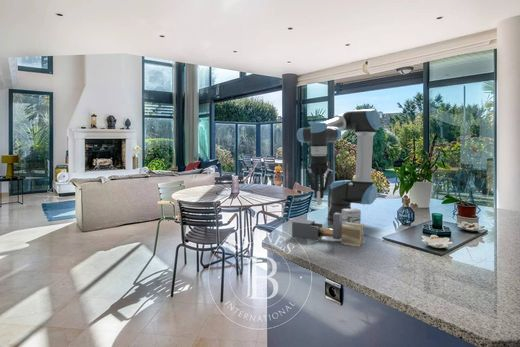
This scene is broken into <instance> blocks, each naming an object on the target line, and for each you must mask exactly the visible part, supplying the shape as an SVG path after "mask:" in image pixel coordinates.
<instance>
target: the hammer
mask: <svg viewBox="0 0 520 347" xmlns="http://www.w3.org/2000/svg"><path fill="white" fill-rule="evenodd" d="M318 236H322V237H327V238H332V239H334V240H340V239H341V240H342V213H335V214H333V220H332V228H328V227H323V226H322V227H318Z"/></svg>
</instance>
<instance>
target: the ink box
mask: <svg viewBox="0 0 520 347" xmlns="http://www.w3.org/2000/svg"><path fill="white" fill-rule="evenodd" d="M361 216H362V210H361V209H359V208H351V209H342V225H343V224H345V223H346V222H350V223H359V224H361V218H362V217H361Z"/></svg>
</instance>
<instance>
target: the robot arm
mask: <svg viewBox="0 0 520 347" xmlns="http://www.w3.org/2000/svg"><path fill="white" fill-rule="evenodd" d="M381 120H382V119H381V116H380V114H379V112H378V110H376V109H374V108H365V109H355V110H352V109H351V110H348V111H345V112H342V113H339V114H336V115H334V116H333V117H332V118H330V119H328V120H325V121H321V122H320V121H317V122H312V123H311V125H310V126H307V127H301V128H298V129H297V131H296V139H297V142H300V143H304V144H305V143H310V155H311V156H310V166H309V168H308V169H306V170H305V174H307V177H308V181H309V182H308V183H309V186H310V190H312V191H314V197H315V198H316V206H322V205H323V202H322V201H323V199H324V193H325V191H327V190H328V188H329V185H330V186H331V187H330V207H329V210H328V214H327V219H328V220H331V221H333V214H335V213H342V209H352V206H351V205H352V204H359V205H368V206H369V205H372V204H373V203H374V202H375V201H376V198H377V195H378V186H377V185H376V184H374V180H373V179H372V167H373V166H372V165H373V146H374V145H373V144H374V136H376V134H377V131H378V130H380V128H381V125H382V124H381V122H382V121H381ZM342 131H354V134H355V135H356V136H357V138H356V158H355V159H356V160H355V162H356V163H355V178H353V179H352V180H349V179H345V180H335V181H332V182H331V184H330V179H331V177H332V174H333V172H334V171H333V170H332V169H330V168H329V165H328V156H327V155H328V143H336V142H338V141H339V140H340V139H341V137H342ZM326 173H327V174H326ZM325 174H326V176H325ZM313 177H314V178H313Z"/></svg>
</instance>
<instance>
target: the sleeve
mask: <svg viewBox="0 0 520 347" xmlns="http://www.w3.org/2000/svg"><path fill="white" fill-rule="evenodd" d="M318 227H322V228H323V223H318V222H316V221H315V220H311V219H310V220H309V219H301V218H300V219H299V218H297V219H295V220H293V221H292V222H291V237H292V238H295V239H296V238H297V239H304V240H310V241H311V240H312V241H317V240H318V241H319V240H320V239H322V238H323V236H318ZM321 237H322V238H321Z"/></svg>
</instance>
